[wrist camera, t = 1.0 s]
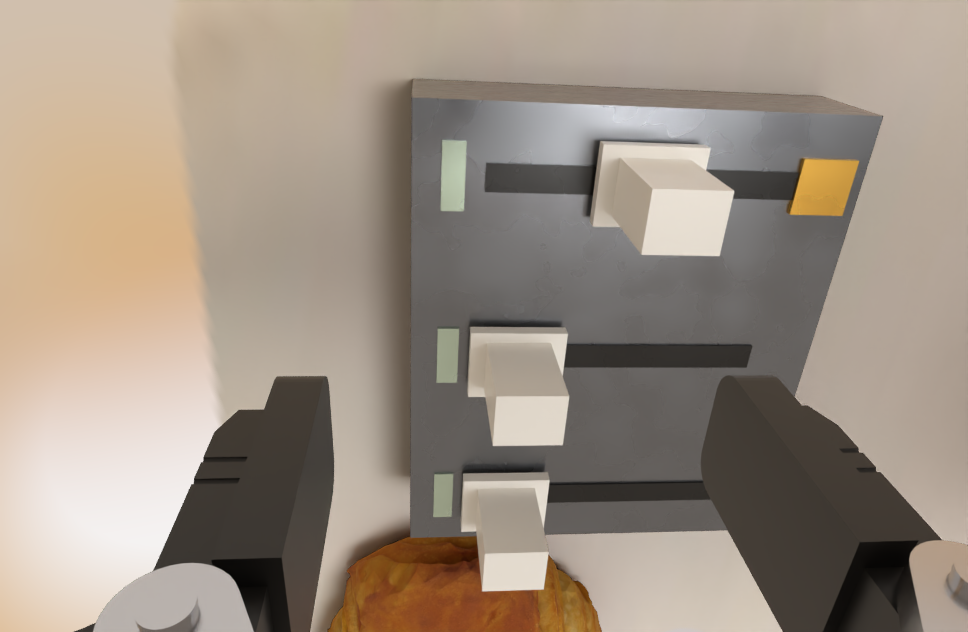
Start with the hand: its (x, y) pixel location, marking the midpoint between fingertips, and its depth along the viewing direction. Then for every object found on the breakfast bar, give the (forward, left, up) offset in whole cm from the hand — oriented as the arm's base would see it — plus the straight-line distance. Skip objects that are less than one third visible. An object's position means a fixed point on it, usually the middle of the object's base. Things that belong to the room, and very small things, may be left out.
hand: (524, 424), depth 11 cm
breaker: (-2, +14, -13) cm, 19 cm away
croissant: (-1, +26, -18) cm, 32 cm away
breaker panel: (-6, +7, -18) cm, 20 cm away
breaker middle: (-2, +7, -13) cm, 15 cm away
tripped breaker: (-6, 0, -13) cm, 15 cm away
